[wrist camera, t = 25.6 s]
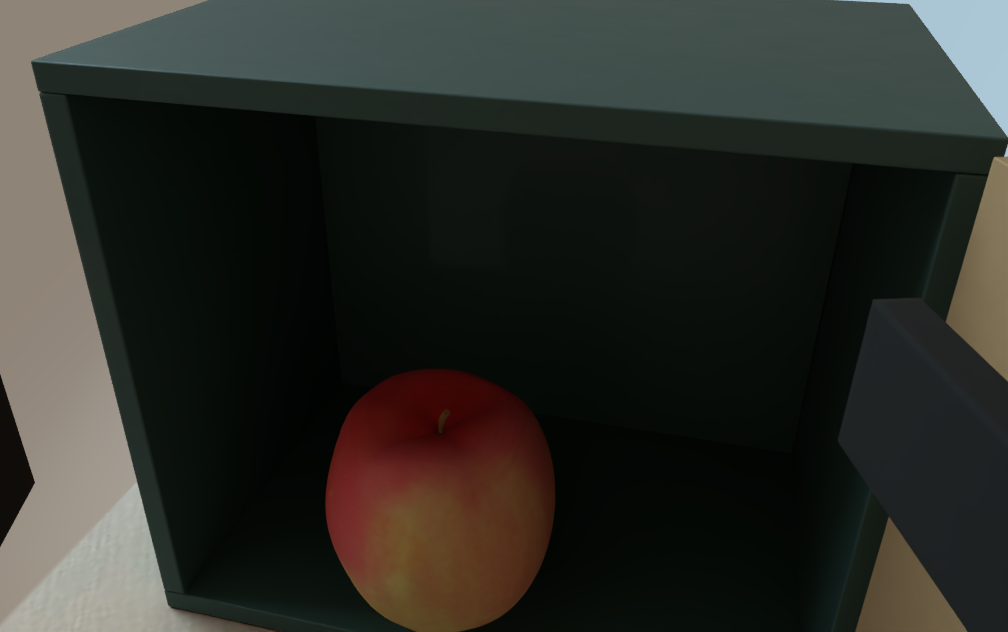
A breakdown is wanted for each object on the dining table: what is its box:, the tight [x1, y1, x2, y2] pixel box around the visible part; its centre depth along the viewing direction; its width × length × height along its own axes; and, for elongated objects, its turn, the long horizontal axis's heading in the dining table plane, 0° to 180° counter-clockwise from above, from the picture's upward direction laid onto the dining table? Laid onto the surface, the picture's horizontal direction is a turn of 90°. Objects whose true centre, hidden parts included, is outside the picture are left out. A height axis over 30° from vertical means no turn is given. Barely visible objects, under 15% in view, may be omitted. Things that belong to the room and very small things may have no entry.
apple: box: [326, 369, 555, 632], centre depth 37 cm, size 10×10×10 cm
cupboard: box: [31, 0, 1008, 632], centre depth 38 cm, size 18×28×24 cm, turn 76°
